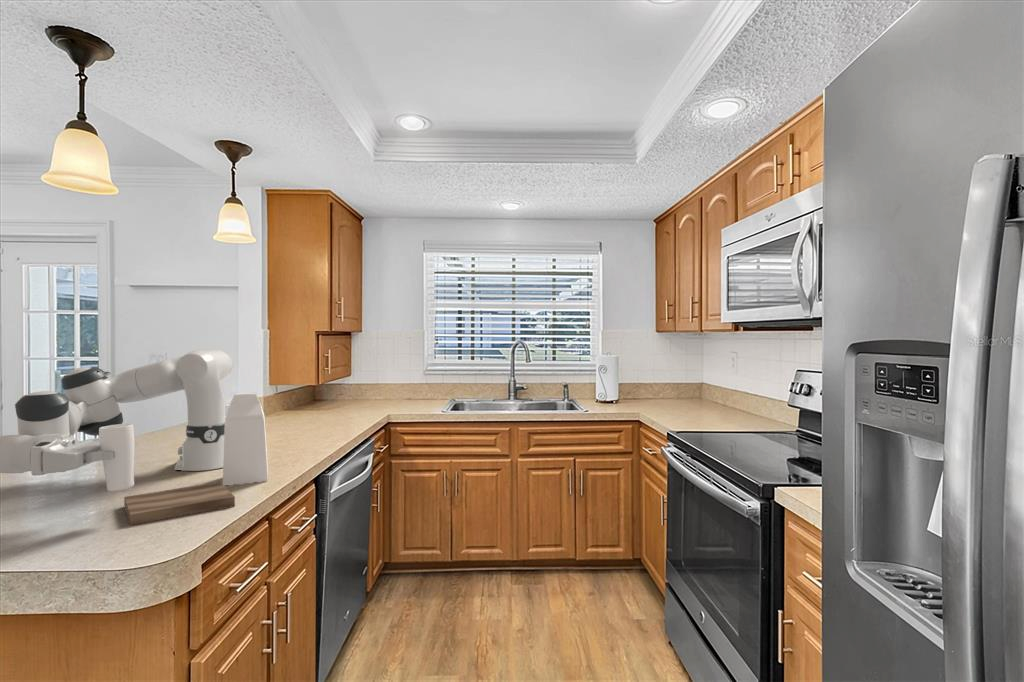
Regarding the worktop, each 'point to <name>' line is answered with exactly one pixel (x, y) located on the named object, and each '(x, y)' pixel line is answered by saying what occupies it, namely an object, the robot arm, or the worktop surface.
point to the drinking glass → (118, 455)
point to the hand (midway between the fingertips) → (122, 451)
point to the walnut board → (177, 502)
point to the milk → (245, 441)
